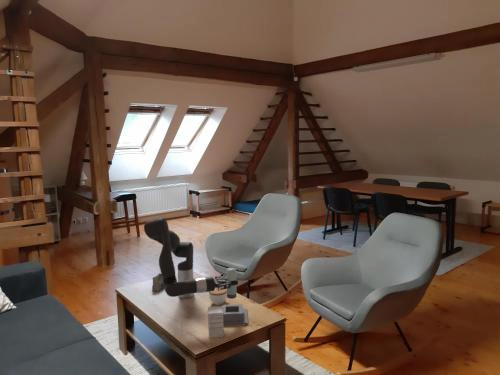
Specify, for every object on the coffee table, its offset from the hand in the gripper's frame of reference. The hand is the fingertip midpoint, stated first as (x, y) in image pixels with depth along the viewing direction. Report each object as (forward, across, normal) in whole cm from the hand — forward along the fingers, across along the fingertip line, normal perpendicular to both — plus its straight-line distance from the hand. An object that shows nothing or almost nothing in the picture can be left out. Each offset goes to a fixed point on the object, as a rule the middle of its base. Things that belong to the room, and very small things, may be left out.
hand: (236, 280), depth 209 cm
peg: (-3, 0, +8) cm, 9 cm away
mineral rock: (-35, +56, +21) cm, 69 cm away
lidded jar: (-5, +22, +21) cm, 30 cm away
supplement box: (-14, -13, +21) cm, 29 cm away
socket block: (-2, 0, +20) cm, 21 cm away
